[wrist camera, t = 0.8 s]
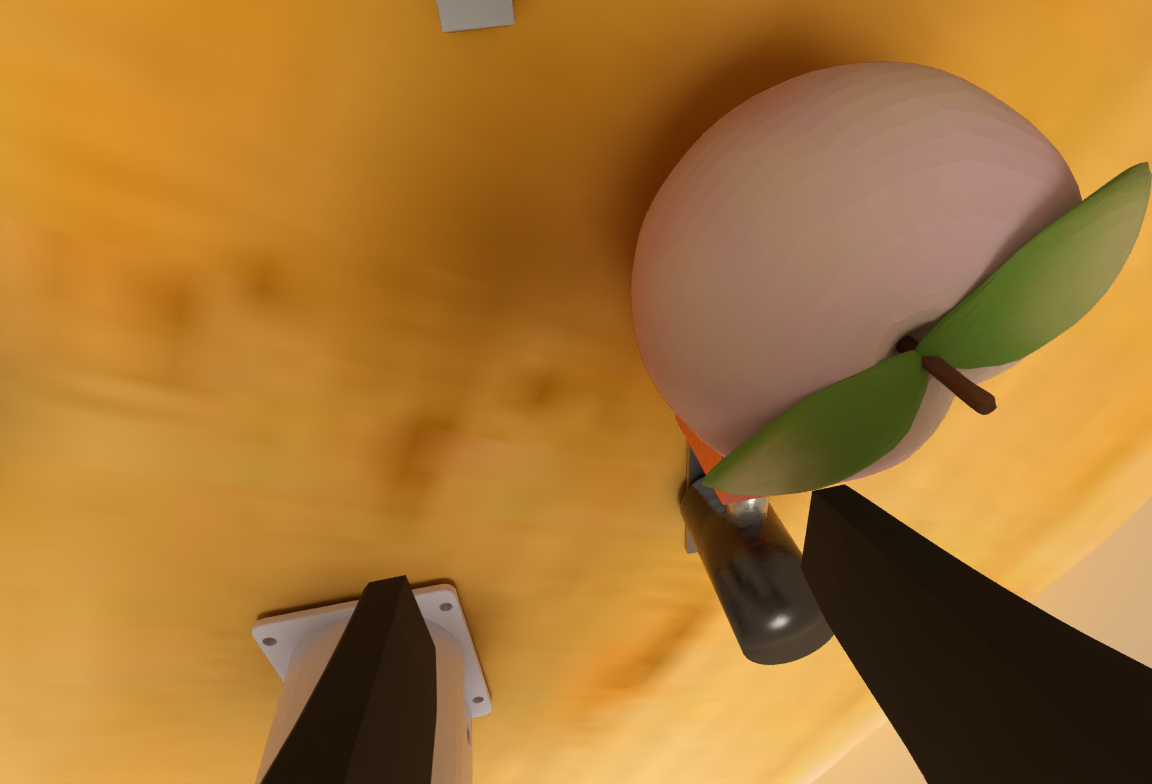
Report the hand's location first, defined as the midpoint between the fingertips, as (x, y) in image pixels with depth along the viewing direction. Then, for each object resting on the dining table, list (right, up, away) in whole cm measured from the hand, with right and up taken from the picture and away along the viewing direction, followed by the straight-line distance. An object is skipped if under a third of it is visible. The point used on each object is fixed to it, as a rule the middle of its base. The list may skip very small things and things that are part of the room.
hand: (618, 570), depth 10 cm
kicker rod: (+5, +1, +11) cm, 12 cm away
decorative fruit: (+4, +8, +7) cm, 12 cm away
